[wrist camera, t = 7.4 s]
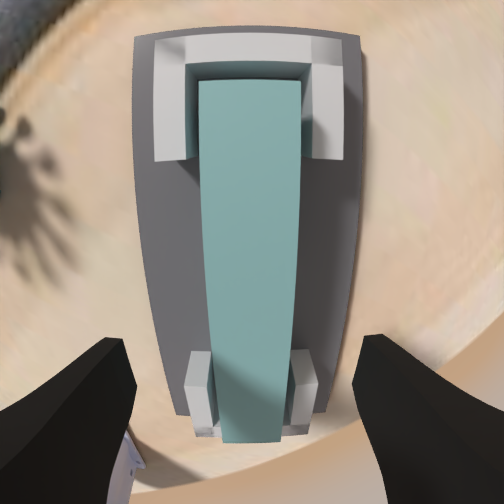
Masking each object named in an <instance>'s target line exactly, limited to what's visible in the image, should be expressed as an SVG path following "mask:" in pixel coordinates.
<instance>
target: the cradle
mask: <svg viewBox="0 0 504 504" xmlns="http://www.w3.org/2000/svg"><path fill="white" fill-rule="evenodd" d="M212 80H289V81H301V167H300V203H299V228H298V249H297V267H296V284H295V299H294V312H293V325H292V337H291V349H290V360H289V370H288V380H287V390H286V399H285V408H284V417H283V425H282V433H281V436H292V435H304V434H308V430H309V426H310V421H311V417H312V413H322V412H325V411H326V407H327V403H328V399H329V395H330V391H331V387H332V382H333V378H334V374H335V369H336V364H337V360H338V355H339V350H340V345H341V340H342V334H343V329H344V323H345V318H346V312H347V306H348V299H349V293H350V286H351V279H352V272H353V264H354V256H355V247H356V238H357V228H358V217H359V205H360V191H361V174H362V148H363V85H362V61H361V45H360V36H358V35H352V34H346V33H340V32H333V31H326V30H318V29H308V28H297V27H282V26H217V27H202V28H191V29H181V30H173V31H166V32H159V33H153V34H147V35H141V36H136V37H134V51H133V73H132V140H133V162H134V179H135V192H136V203H137V214H138V223H139V232H140V240H141V248H142V256H143V263H144V269H145V276H146V282H147V288H148V294H149V300H150V305H151V311H152V316H153V321H154V326H155V331H156V336H157V341H158V345H159V350H160V354H161V358H162V363H163V367H164V371H165V375H166V379H167V383H168V387H169V390H170V394H171V398H172V402H173V405H174V409H175V412H176V415H183V416H191V419H192V423H193V427H194V431H195V435H196V437H221V438H222V433H221V425H220V418H219V410H218V402H217V394H216V386H215V377H214V368H213V359H212V349H211V339H210V328H209V317H208V306H207V293H206V280H205V266H204V251H203V234H202V214H201V191H200V159H199V81H212Z"/></svg>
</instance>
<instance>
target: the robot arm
mask: <svg viewBox="0 0 504 504" xmlns="http://www.w3.org/2000/svg"><path fill="white" fill-rule="evenodd" d="M352 387H353V391H354V396H355V400H356V404H357V408H358V411H359V414H360V417H361V419H362V422H363V425H364V427H365V430H366V432H367V435H368V438H369V440H370V443H371V445H372V448H373V451H374V453H375V456H376V459H377V461H378V464H379V467H380V470H381V473H382V476H383V481H384V486H385V490H386V495H387V500H388V504H504V411H501V410H499V409H497V408H495V407H492V406H490V405H488V404H486V403H484V402H482V401H481V400H479V399H477V398H475V397H473V396H471V395H469V394H468V393H466V392H464V391H463V390H461V389H459V388H458V387H456V386H455V385H453V384H452V383H450V382H449V381H447V380H445V379H444V378H442V377H441V376H439V375H438V374H437V373H435V372H434V371H432V370H431V369H430V368H428V367H427V366H426V365H424V364H423V363H421V362H420V361H419V360H417V359H416V358H415V357H413V356H412V355H411V354H409V353H408V352H407V351H405V350H404V349H403V348H401V347H400V346H399V345H397V344H396V343H395V342H393V341H392V340H391V339H389V338H388V337H386V336H385V335H383V334H377V335H367V336H364V339H363V343H362V347H361V351H360V355H359V359H358V363H357V367H356V371H355V374H354V378H353V381H352ZM136 390H137V384H136V381H135V378H134V375H133V372H132V369H131V366H130V363H129V359H128V356H127V353H126V349H125V346H124V342H123V339H120V338H108V337H105V338H103V339H102V340H100V341H99V342H98V343H96V344H95V345H94V346H92V347H91V348H90V349H88V350H87V351H86V352H84V353H83V354H82V355H81V356H79V357H78V358H77V359H76V360H74V361H73V362H72V363H71V364H69V365H68V366H67V367H65V368H64V369H63V370H62V371H60V372H59V373H58V374H56V375H55V376H54V377H52V378H51V379H50V380H48V381H47V382H45V383H44V384H43V385H41V386H40V387H38V388H37V389H36V390H34V391H33V392H31V393H30V394H28V395H27V396H25V397H24V398H22V399H21V400H19V401H17V402H16V403H14V404H12V405H10V406H9V407H7V408H5V409H3V410H1V411H0V504H128V503H129V499H130V494H131V490H132V486H133V482H134V477H135V473H136V469H137V468H141V469H145V468H146V464H145V463H144V461H143V459H142V458H141V456H140V454H139V452H138V450H137V449H136V447H135V445H134V443H133V441H132V439H131V437H130V435H129V433H128V432H127V430H126V429H127V426H128V423H129V420H130V417H131V414H132V410H133V405H134V401H135V395H136Z"/></svg>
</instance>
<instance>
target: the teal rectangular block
mask: <svg viewBox="0 0 504 504" xmlns="http://www.w3.org/2000/svg"><path fill="white" fill-rule="evenodd" d="M199 159H200V191H201V214H202V234H203V251H204V266H205V280H206V293H207V306H208V317H209V328H210V339H211V349H212V359H213V368H214V377H215V386H216V394H217V402H218V410H219V418H220V425H221V433H222V440H223V443H271V442H280V441H281V433H282V425H283V417H284V408H285V399H286V390H287V380H288V370H289V360H290V349H291V337H292V325H293V312H294V299H295V284H296V267H297V249H298V228H299V203H300V167H301V81H289V80H212V81H199Z"/></svg>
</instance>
